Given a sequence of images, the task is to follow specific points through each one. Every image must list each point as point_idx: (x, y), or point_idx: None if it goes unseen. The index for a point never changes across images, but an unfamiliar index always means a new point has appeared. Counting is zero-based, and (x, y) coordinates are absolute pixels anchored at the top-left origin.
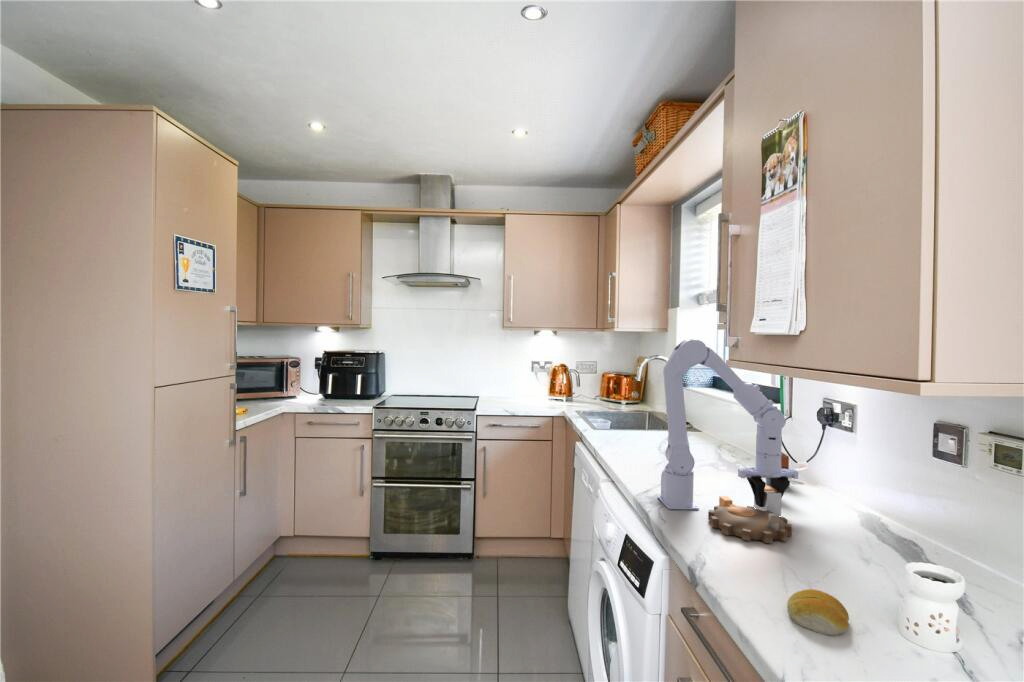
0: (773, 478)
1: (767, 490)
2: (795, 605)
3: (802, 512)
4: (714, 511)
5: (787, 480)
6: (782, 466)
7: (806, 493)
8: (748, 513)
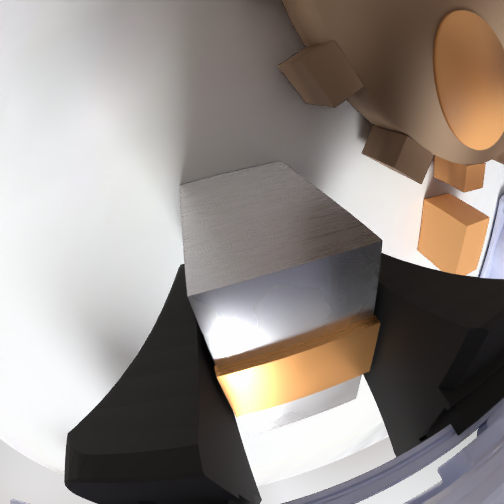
0: (252, 495)
1: (326, 333)
2: None
3: (46, 305)
4: None
5: (100, 497)
6: None
7: (61, 447)
8: (463, 39)
